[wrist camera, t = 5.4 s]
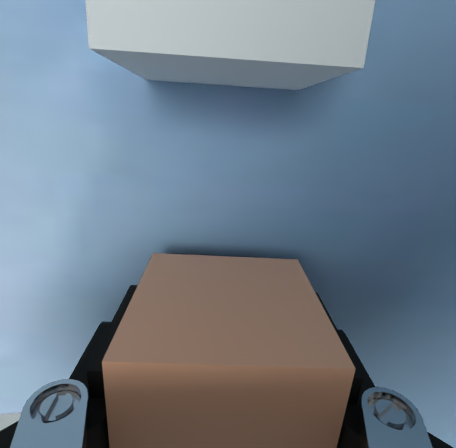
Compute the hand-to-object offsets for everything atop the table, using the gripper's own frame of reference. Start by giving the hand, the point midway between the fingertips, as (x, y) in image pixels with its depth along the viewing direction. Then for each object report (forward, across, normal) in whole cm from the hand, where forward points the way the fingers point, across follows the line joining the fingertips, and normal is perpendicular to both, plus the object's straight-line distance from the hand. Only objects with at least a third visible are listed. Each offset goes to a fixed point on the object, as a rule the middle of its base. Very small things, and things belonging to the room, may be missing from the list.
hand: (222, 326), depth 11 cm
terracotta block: (+1, 0, 0) cm, 1 cm away
